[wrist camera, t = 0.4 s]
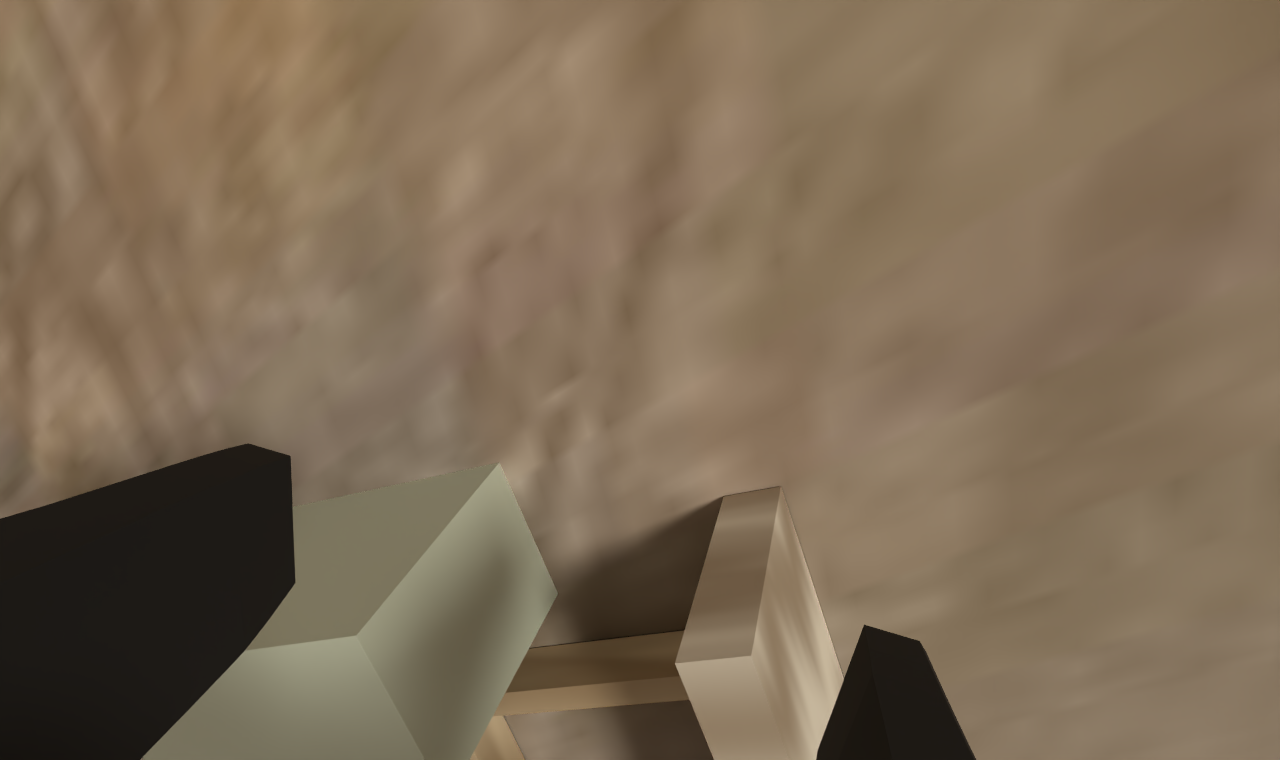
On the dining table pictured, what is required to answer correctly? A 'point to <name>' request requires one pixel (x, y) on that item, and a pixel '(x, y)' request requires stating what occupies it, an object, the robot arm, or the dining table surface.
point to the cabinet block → (383, 631)
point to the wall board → (709, 651)
